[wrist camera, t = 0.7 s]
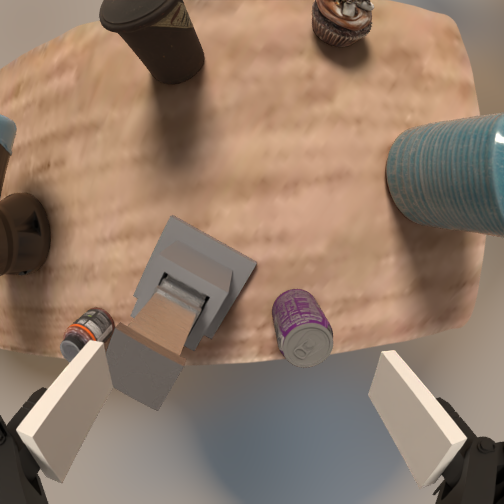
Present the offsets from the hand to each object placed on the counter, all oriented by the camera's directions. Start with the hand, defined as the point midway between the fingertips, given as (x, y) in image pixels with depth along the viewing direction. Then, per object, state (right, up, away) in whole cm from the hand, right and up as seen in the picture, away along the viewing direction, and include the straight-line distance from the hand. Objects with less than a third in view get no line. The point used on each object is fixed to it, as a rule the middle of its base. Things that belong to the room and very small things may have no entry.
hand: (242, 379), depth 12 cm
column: (-8, +1, +30) cm, 31 cm away
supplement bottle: (-26, -7, +33) cm, 43 cm away
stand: (-8, +2, +32) cm, 33 cm away
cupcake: (+14, +42, +24) cm, 50 cm away
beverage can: (+7, -3, +33) cm, 34 cm away
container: (-11, +35, +25) cm, 44 cm away
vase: (+29, +18, +29) cm, 45 cm away
